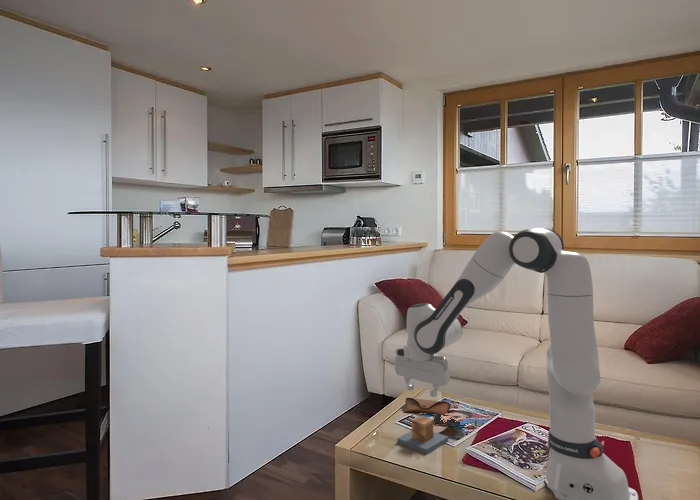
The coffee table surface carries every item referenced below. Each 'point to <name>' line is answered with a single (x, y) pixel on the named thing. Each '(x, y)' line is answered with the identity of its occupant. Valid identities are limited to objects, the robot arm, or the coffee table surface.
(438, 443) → the carrier plate
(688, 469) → the coffee table surface
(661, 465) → the coffee table surface
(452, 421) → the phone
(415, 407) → the sunglasses case
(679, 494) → the coffee table surface
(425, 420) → the block
